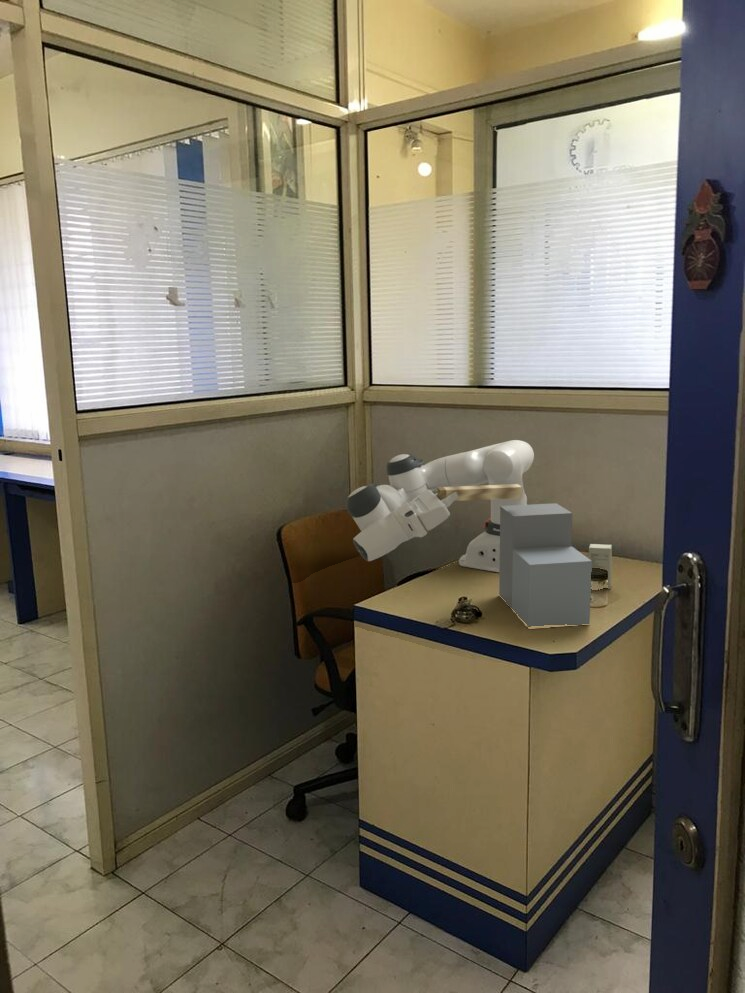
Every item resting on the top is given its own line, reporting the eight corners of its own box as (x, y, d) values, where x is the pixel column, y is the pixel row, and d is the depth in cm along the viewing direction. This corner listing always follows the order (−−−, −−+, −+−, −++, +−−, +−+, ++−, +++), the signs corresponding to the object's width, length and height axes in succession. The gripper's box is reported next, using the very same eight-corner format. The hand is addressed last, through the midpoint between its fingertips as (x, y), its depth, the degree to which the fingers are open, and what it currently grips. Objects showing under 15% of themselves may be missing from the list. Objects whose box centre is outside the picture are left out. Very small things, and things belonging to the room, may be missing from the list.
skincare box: (611, 585, 239) (613, 544, 236) (610, 589, 235) (612, 548, 232) (588, 583, 241) (590, 542, 238) (587, 587, 237) (588, 546, 234)
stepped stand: (528, 629, 206) (530, 529, 201) (499, 595, 231) (500, 506, 226) (589, 625, 208) (593, 526, 203) (553, 592, 233) (556, 503, 228)
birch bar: (440, 501, 215) (440, 490, 214) (437, 498, 219) (437, 487, 218) (522, 498, 218) (522, 486, 217) (517, 495, 222) (517, 483, 221)
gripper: (409, 519, 228) (451, 493, 228) (423, 539, 208) (469, 510, 208) (397, 501, 226) (440, 474, 226) (411, 518, 206) (457, 489, 206)
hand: (454, 492), depth 217 cm, fingers closed on birch bar, 4 cm apart
